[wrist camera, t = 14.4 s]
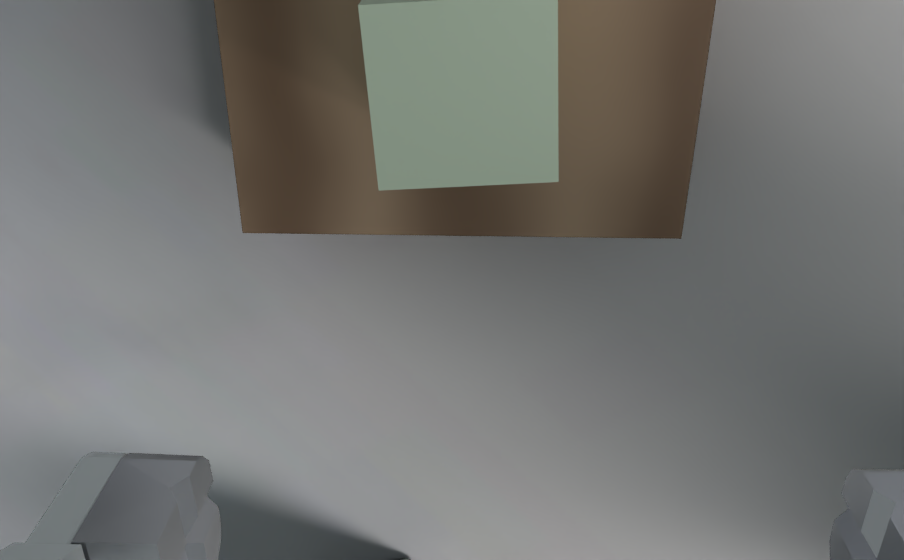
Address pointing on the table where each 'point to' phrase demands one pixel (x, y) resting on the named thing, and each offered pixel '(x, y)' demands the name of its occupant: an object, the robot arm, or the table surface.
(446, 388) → the table surface
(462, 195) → the walnut block
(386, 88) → the sage block
